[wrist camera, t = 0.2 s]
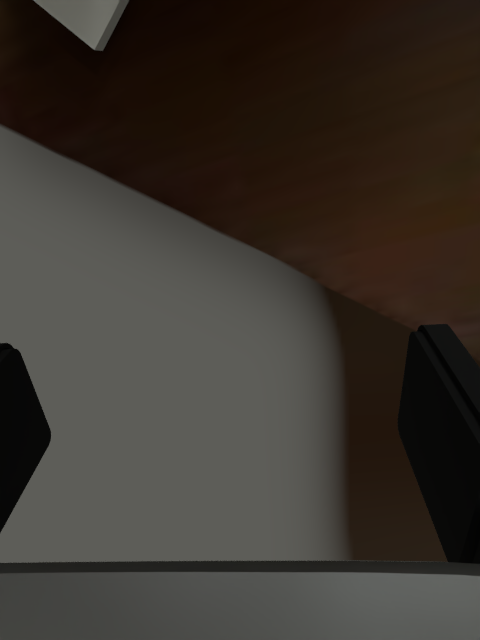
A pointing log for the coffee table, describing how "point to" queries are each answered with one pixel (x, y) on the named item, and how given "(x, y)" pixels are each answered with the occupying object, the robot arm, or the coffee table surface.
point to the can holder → (87, 18)
